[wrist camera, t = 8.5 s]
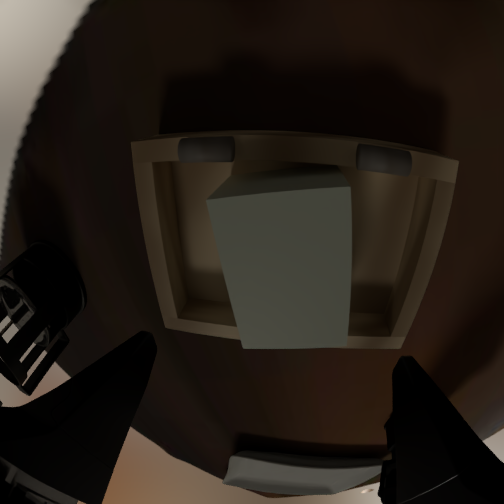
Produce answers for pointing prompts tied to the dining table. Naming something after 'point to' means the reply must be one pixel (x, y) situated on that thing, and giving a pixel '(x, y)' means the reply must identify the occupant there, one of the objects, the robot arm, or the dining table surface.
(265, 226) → the grey faceted block
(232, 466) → the square plate
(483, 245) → the dining table surface
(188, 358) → the dining table surface
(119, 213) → the dining table surface
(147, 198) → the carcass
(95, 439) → the robot arm
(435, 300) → the dining table surface
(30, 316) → the french press
